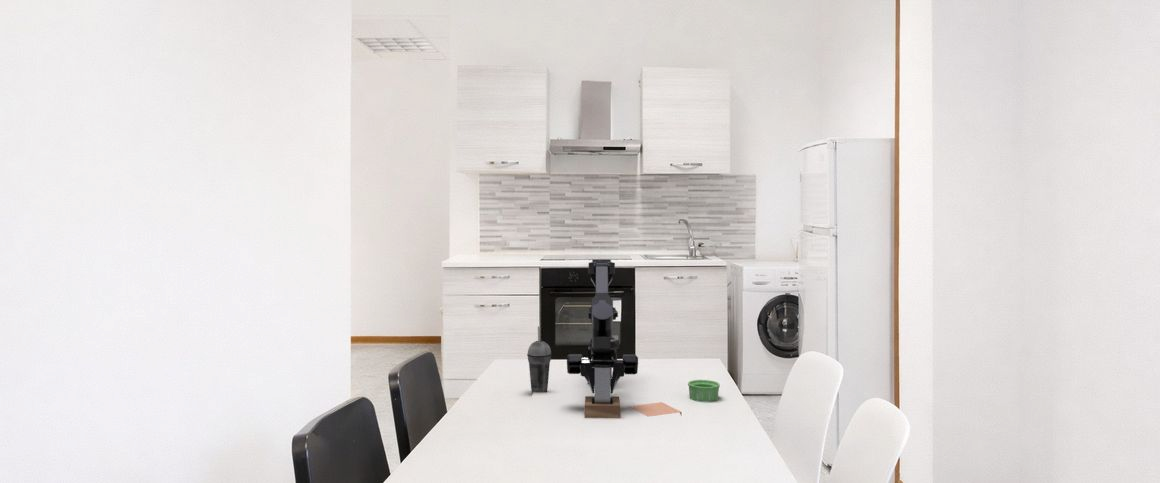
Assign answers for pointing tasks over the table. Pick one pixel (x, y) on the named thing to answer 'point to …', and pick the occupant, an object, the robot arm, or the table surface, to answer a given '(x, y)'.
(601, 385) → the peg
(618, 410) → the socket block
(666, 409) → the mat
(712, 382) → the ramekin
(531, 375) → the beverage cup
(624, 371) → the robot arm
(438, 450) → the table surface
